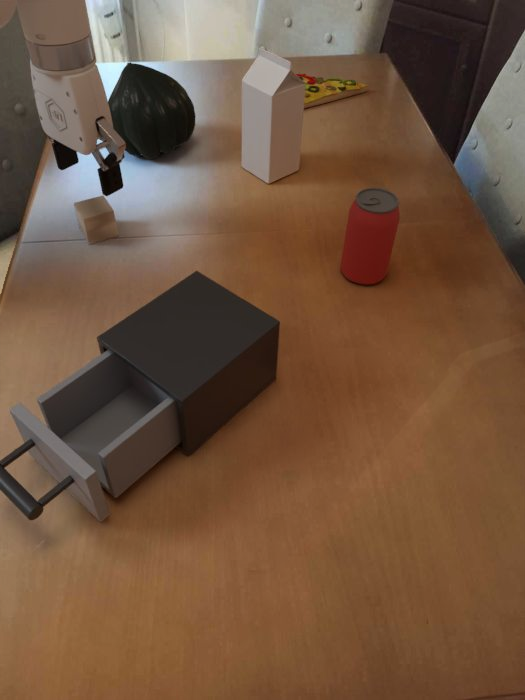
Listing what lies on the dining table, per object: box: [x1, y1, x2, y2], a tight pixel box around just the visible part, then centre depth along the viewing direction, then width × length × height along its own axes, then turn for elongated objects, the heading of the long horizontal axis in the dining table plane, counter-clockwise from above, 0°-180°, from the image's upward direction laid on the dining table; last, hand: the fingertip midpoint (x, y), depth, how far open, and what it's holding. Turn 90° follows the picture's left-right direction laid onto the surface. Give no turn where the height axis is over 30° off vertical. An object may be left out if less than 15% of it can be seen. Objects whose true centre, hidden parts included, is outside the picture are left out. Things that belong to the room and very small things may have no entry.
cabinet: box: [96, 270, 281, 458], centre depth 66 cm, size 15×13×10 cm
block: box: [73, 195, 119, 245], centre depth 88 cm, size 4×4×4 cm
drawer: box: [0, 350, 182, 523], centre depth 59 cm, size 18×11×8 cm, turn 139°
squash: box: [107, 62, 196, 160], centre depth 103 cm, size 14×15×15 cm
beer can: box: [340, 187, 401, 286], centre depth 81 cm, size 7×7×12 cm
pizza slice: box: [295, 73, 369, 109], centre depth 123 cm, size 16×21×3 cm
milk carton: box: [241, 47, 306, 185], centre depth 96 cm, size 7×7×19 cm
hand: (90, 178), depth 83 cm, fingers open, 9 cm apart
